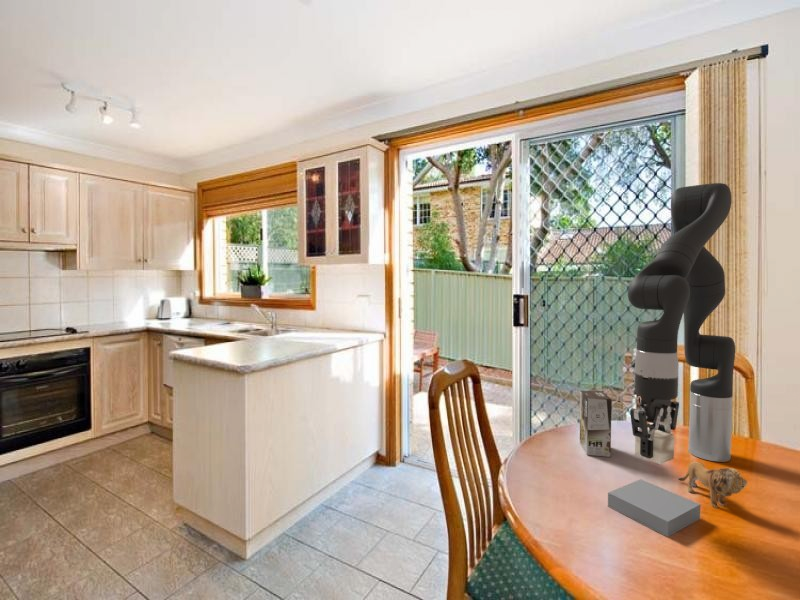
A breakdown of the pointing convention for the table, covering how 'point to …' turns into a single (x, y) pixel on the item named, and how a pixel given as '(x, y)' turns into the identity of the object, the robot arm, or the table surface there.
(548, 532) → the table surface
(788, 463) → the table surface
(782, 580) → the table surface
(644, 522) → the base
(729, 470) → the lion figurine
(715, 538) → the table surface
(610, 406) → the coffee box
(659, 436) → the wooden block
